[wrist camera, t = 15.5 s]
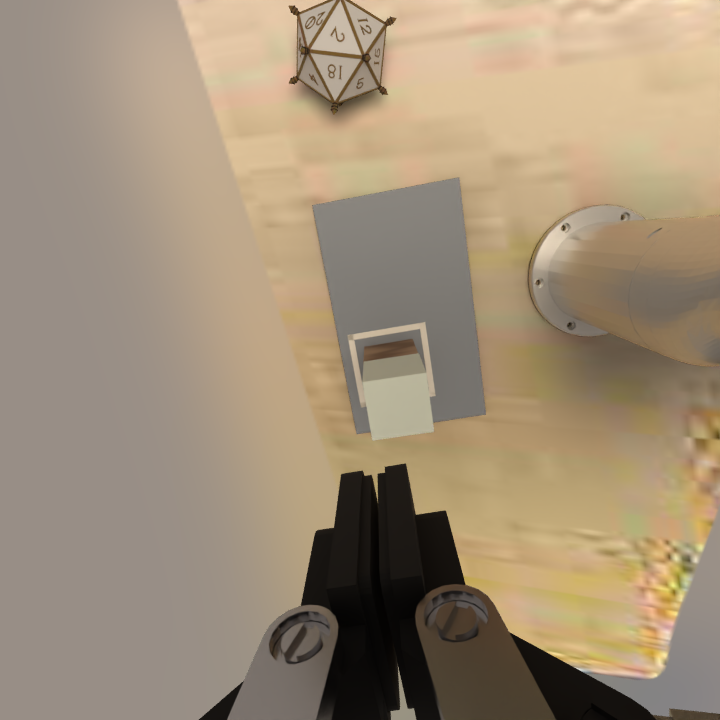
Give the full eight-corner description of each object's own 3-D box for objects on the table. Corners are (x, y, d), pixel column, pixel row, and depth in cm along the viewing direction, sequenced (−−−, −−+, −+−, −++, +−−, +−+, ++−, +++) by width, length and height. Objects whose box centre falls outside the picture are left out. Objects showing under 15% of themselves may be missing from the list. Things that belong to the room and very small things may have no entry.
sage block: (418, 353, 41) (426, 372, 35) (425, 405, 42) (434, 431, 36) (363, 361, 41) (362, 382, 36) (372, 412, 43) (372, 440, 37)
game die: (332, 99, 45) (258, 105, 38) (337, -11, 40) (253, -27, 33) (409, 115, 42) (343, 125, 35) (426, -4, 36) (352, -21, 30)
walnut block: (412, 338, 47) (418, 353, 41) (419, 384, 48) (425, 404, 42) (364, 346, 47) (363, 362, 41) (372, 392, 48) (372, 413, 43)
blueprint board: (457, 178, 43) (459, 177, 43) (484, 411, 50) (486, 414, 49) (313, 205, 44) (312, 205, 44) (357, 431, 50) (356, 434, 50)
